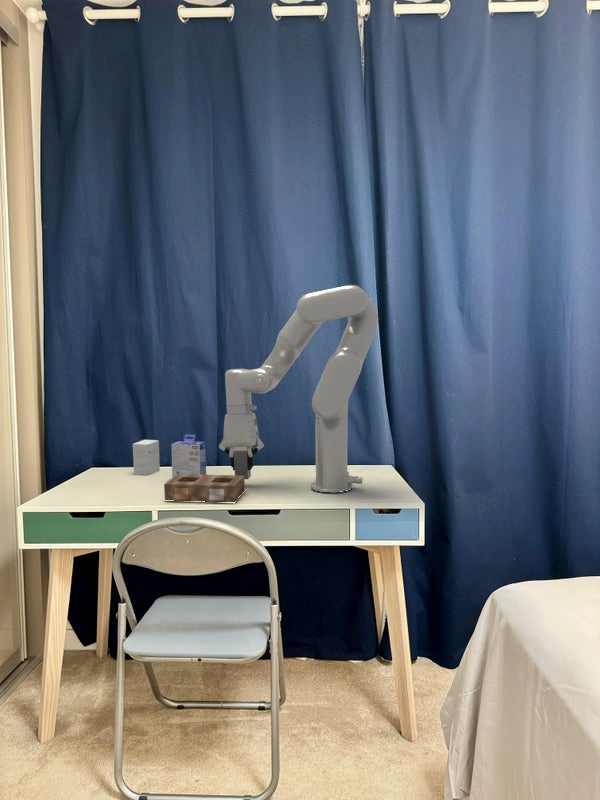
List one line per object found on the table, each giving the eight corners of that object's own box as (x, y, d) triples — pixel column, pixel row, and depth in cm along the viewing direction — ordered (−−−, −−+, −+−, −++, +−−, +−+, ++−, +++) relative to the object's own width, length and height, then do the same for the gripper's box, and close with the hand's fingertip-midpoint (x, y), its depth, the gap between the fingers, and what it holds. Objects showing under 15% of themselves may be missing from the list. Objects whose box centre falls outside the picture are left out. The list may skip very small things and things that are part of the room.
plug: (250, 476, 185) (249, 444, 184) (248, 479, 181) (246, 446, 180) (238, 476, 186) (236, 444, 185) (234, 479, 182) (233, 446, 181)
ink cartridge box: (207, 478, 194) (206, 434, 192) (201, 482, 189) (200, 437, 187) (178, 477, 196) (177, 433, 194) (171, 481, 191) (170, 436, 189)
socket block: (244, 492, 177) (244, 475, 176) (234, 504, 165) (234, 486, 164) (179, 490, 179) (178, 474, 179) (164, 501, 167) (163, 484, 167)
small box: (145, 469, 208) (144, 439, 207) (160, 470, 207) (159, 440, 206) (133, 474, 201) (132, 443, 199) (148, 475, 199) (147, 444, 198)
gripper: (269, 407, 184) (271, 466, 186) (216, 409, 186) (219, 467, 188) (264, 410, 177) (267, 472, 178) (209, 412, 179) (212, 472, 181)
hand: (242, 468), depth 183 cm, fingers closed on plug, 4 cm apart
